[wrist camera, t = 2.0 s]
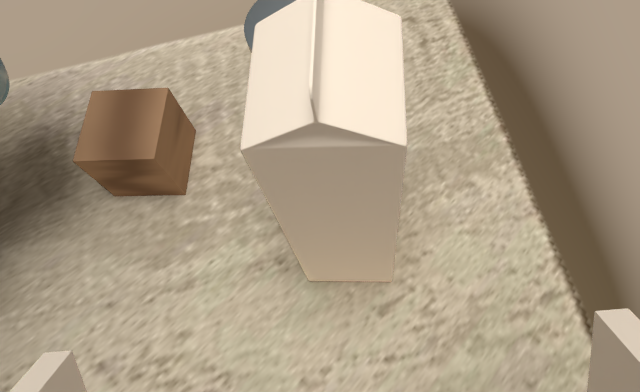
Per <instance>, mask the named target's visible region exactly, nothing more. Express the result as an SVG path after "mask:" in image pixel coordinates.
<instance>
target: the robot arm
mask: <svg viewBox="0 0 640 392" xmlns="http://www.w3.org/2000/svg"><path fill="white" fill-rule="evenodd" d="M8 92H9V77H8V74H7V71H6V69H5V66H4V65H3V62H2V60H1V58H0V105H1V104H2V103H3V102H4V101H5V99H6V97H7V95H8ZM9 392H87V391H86V388H85V385H84V383H83V380H82V377H81V374H80V372H79V369H78V366H77V363H76V360H75V358H74V355H73V352H72V350H71V351H58V352H45V353H43V354H42V355H41V357H40V358H39V359H38V360H37V361H36V362H35V363H34V364H33V366H32V367H31V368H30V369H29V370H28V371H27V372H26V373H25V375H24V376H23V377H22V378H21V379H20V380H19V381H18V382H17V384H16V385H15V386H14V387H13V388H12V389H11V390H10V391H9ZM587 392H640V320H639V319H638V318H637V317H636V316H635V315H634V314H633V313H632V312H631V311H630V310H629V309H616V310H603V311H595V315H594V325H593V336H592V346H591V357H590V367H589V378H588V388H587Z"/></svg>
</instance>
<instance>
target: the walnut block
mask: <svg viewBox="0 0 640 392" xmlns="http://www.w3.org/2000/svg"><path fill="white" fill-rule="evenodd" d="M195 133H196V130H195V129H194V127H193V126H192V124H191V122H190V121H189V119H188V118H187V116H186V115H185V113H184V112H183V110H182V108H181V107H180V105H179V104H178V102H177V101H176V99H175V98H174V96H173V94H172V93H171V91H170V90H169V88H153V89H131V90H110V91H92V93H91V97H90V101H89V104H88V108H87V111H86V115H85V119H84V122H83V126H82V129H81V133H80V137H79V140H78V144H77V147H76V151H75V154H74V158H73V162H74V163H75V164H77V165H78V166H79V167H80V168H81V169H83V170H84V171H85V172H86V173H87V174H89V175H90V176H91V177H92V178H93V179H95V180H96V181H97V182H98V183H99V184H101V185H102V186H103V187H104V188H105V189H107V190H108V191H109V192H110V193H112V194H113V195H114V196H151V195H186V189H187V183H188V177H189V171H190V164H191V158H192V152H193V145H194V139H195Z"/></svg>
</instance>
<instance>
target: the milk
mask: <svg viewBox="0 0 640 392" xmlns="http://www.w3.org/2000/svg"><path fill="white" fill-rule="evenodd" d="M240 150H241V152H242V154H243V156H244V158H245V160H246V162H247V164H248V166H249V168H250V170H251V171H252V173H253V175H254V177H255V179H256V181H257V183H258V185H259V187H260V189H261V191H262V193H263V194H264V196H265V198H266V200H267V202H268V204H269V206H270V208H271V210H272V212H273V214H274V216H275V217H276V219H277V221H278V223H279V225H280V227H281V229H282V231H283V233H284V235H285V237H286V239H287V240H288V242H289V244H290V246H291V248H292V250H293V252H294V254H295V256H296V258H297V260H298V262H299V263H300V265H301V267H302V269H303V271H304V273H305V275H306V277H307V279H308V280H309V281H355V282H391V281H392V278H393V269H394V260H395V251H396V242H397V233H398V224H399V215H400V206H401V197H402V188H403V179H404V170H405V162H406V153H407V126H406V104H405V82H404V60H403V38H402V20H401V17H400V16H399V15H397V14H394V13H392V12H389V11H387V10H384V9H382V8H379V7H377V6H374V5H372V4H369V3H367V2H364V1H361V0H296V1H294V2H292V3H291V4H289V5H287V6H286V7H284V8H282V9H280V10H279V11H277V12H275V13H274V14H272V15H270V16H268V17H267V18H265V19H263V20H262V21H260V22H258V23H257V24H256V25H255V30H254V38H253V46H252V54H251V63H250V71H249V79H248V87H247V96H246V104H245V112H244V120H243V129H242V137H241V145H240Z"/></svg>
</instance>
